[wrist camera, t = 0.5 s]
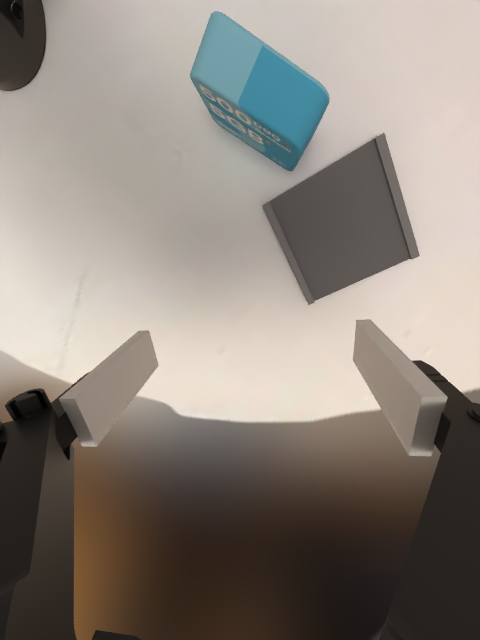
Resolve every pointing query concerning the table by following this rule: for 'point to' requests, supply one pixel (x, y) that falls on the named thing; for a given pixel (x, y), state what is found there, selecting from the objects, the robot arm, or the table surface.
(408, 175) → the table surface
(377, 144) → the dark gray square slab
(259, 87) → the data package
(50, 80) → the table surface
